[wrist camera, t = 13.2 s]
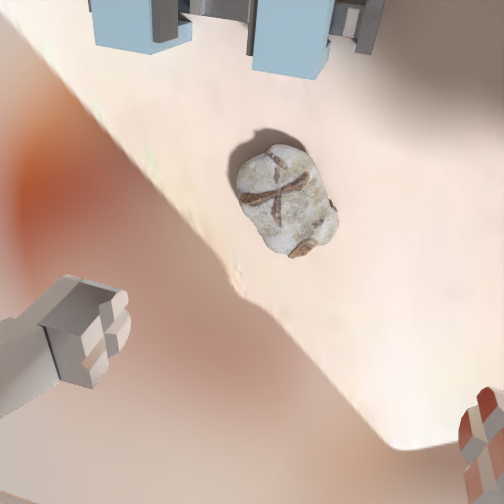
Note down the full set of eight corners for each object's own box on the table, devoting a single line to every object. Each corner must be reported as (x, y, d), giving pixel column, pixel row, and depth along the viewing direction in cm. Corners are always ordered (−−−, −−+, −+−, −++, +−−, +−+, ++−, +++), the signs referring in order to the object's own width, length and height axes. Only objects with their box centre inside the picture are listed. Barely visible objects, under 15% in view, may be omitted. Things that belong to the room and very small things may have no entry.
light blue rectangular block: (345, -33, 30) (335, -34, 24) (327, 60, 34) (314, 80, 27) (279, -41, 31) (252, -44, 24) (269, 50, 34) (243, 68, 28)
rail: (385, -5, 30) (385, -3, 27) (372, 47, 32) (371, 54, 29) (108, -41, 34) (82, -42, 31) (112, 8, 36) (89, 11, 33)
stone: (224, 165, 42) (214, 178, 39) (300, 126, 38) (294, 138, 35) (279, 253, 47) (273, 269, 44) (353, 227, 42) (351, 244, 40)
